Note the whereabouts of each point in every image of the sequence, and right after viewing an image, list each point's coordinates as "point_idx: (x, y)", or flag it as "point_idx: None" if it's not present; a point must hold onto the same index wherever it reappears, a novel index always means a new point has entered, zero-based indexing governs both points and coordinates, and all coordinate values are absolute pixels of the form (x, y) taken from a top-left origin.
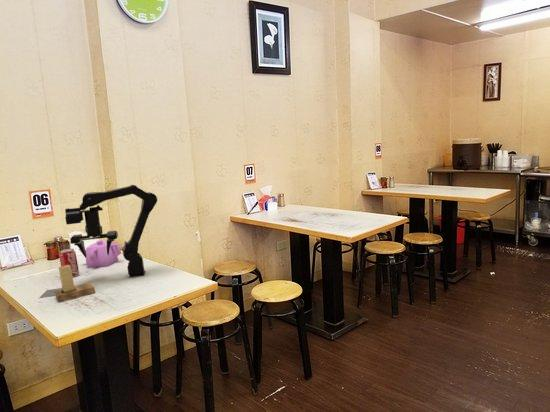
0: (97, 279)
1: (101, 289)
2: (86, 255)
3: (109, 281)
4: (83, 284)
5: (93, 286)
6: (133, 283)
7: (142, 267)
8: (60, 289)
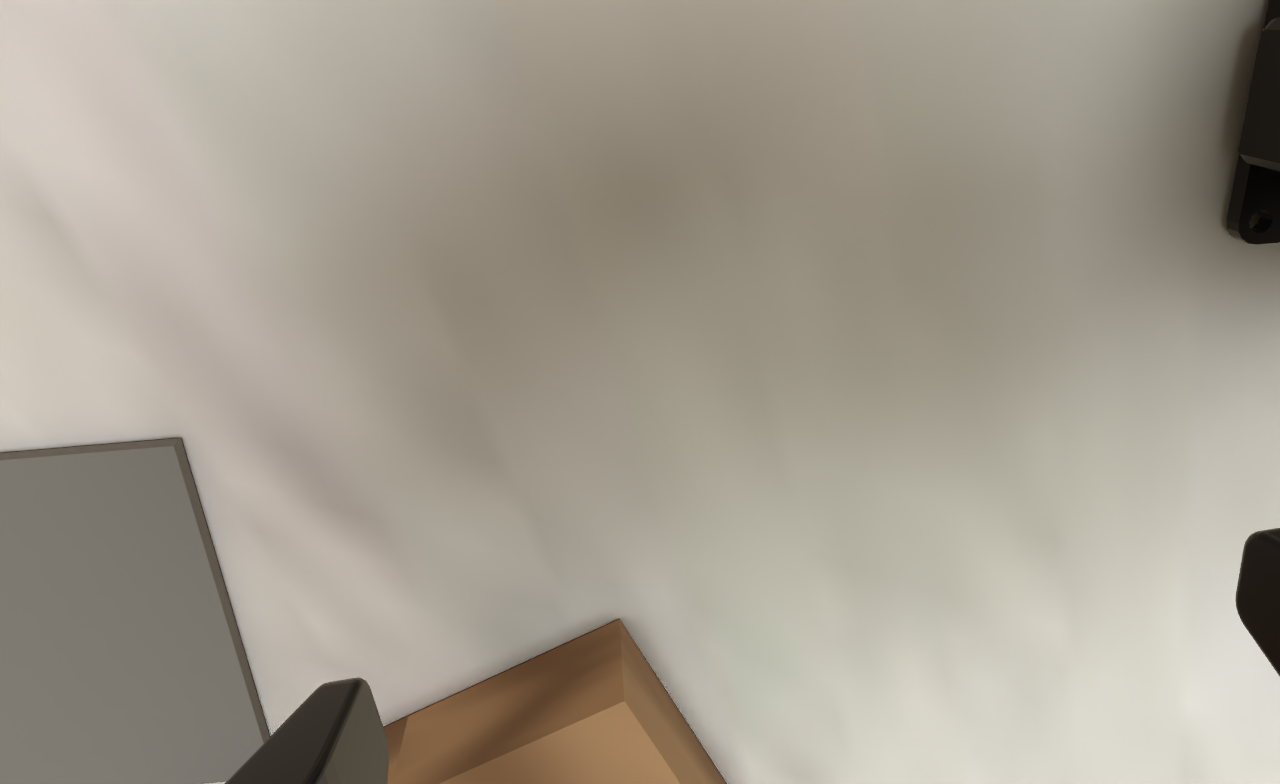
0: (546, 77)
1: (793, 678)
2: (350, 712)
3: (851, 324)
4: (531, 770)
5: None
6: None
7: None
8: (23, 533)
